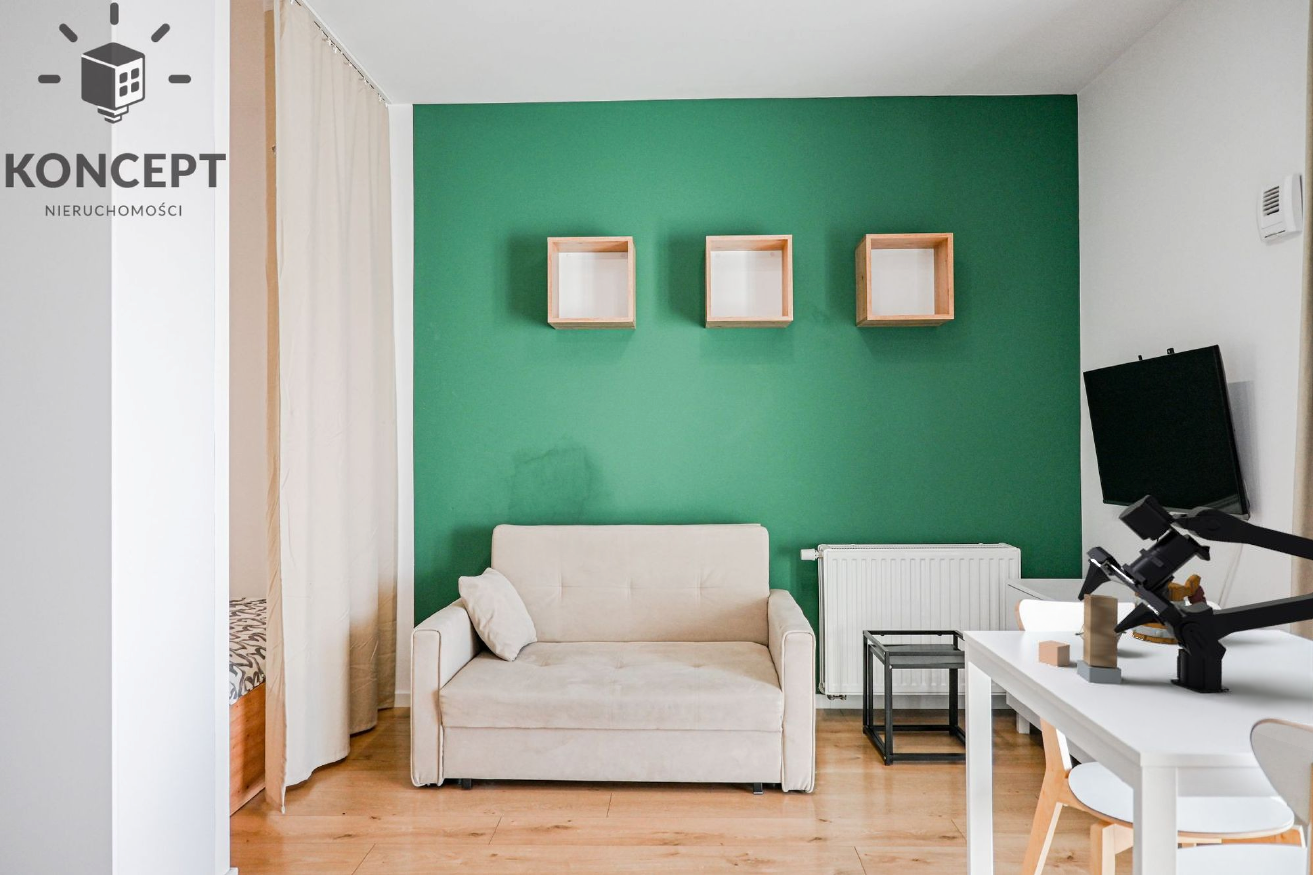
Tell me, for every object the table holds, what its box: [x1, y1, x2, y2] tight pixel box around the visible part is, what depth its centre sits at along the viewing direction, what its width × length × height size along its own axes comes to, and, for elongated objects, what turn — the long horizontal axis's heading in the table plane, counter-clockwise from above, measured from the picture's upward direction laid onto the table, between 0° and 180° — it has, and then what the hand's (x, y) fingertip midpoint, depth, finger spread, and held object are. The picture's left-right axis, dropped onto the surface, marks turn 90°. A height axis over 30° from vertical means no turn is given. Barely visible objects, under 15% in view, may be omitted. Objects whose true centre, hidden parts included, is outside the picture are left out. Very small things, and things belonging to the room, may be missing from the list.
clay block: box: [1038, 640, 1071, 667], centre depth 158 cm, size 4×4×4 cm
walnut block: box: [1082, 594, 1119, 668], centre depth 147 cm, size 4×4×12 cm
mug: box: [1131, 573, 1208, 645], centre depth 180 cm, size 11×16×15 cm, turn 88°
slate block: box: [1076, 659, 1122, 685], centre depth 147 cm, size 6×6×3 cm
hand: (1096, 615), depth 148 cm, fingers open, 9 cm apart
